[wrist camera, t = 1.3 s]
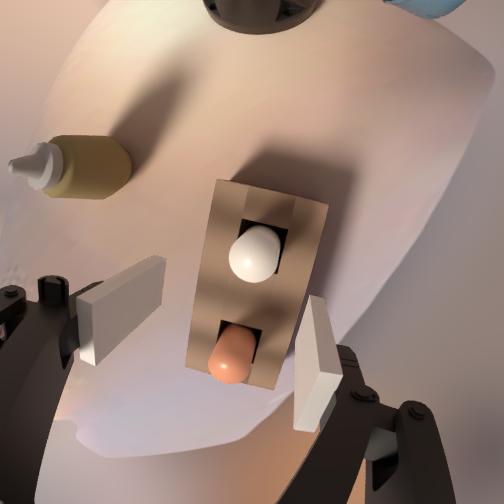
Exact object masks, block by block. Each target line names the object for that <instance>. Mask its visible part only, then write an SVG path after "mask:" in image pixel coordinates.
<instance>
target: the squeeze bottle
mask: <svg viewBox="0 0 504 504" xmlns="http://www.w3.org/2000/svg"><path fill="white" fill-rule="evenodd" d="M8 172H9V173H11V174H15V175H18V176H22V177H26V178H27V181H28V183H29V184H30V186H31V187H32V188H33V189H35V190H43V191H44V193H45V194H47V195H48V196H50V197H52V198H75V199H105V198H107V197H109V196H111V195H112V194H114V193H115V192H117V191H118V190H119V189H121V188H122V187H123V186H124V185H125V184H126V183H127V181H128V180H129V178H130V175H131V172H132V161H131V158H130V155H129V154H128V153H127V152H126V150H125V149H124V148H123V147H122V146H121V145H120V144H119V143H118V142H117V141H116V140H115V139H112V138H110V137H107V136H87V135H61V136H57V137H54V138H53V139H51V140H50V141H49V142H48V143H44V142H43V143H39V144H37V145H36V146H35V147H34V148H33V149H32V150H31V152H30V154H29V155H28V156H24V157H21V158H17V159H14V160H11V161H10V162H9V164H8Z"/></svg>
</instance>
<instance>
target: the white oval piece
mask: <svg viewBox="0 0 504 504" xmlns="http://www.w3.org/2000/svg"><path fill="white" fill-rule="evenodd" d="M280 248H281V241H280V238H279V236H278V234H277V233H276V232H275V230H273V229H272V228H270V227H268V226H265V225H256V226H253V227H251V228H249V229H248V230H247V231H246V232H245V233H244V234H243V235H242V236H241V237H240V238H238V239H237V240H236V241H235V242H234V244H233V245H232V247H231V249H230V252H229V263H230V266H231V269H232V270H233V272H234V273H235V274H236V275H237V276H238V277H239V278H240V279H242V280H244V281H247V282H253V283H256V282H261V281H264V280H266V279H268V278H269V277H270V276H271V275H272V274H273V273H274V272H275V270H276V268H277V264H278V259H279V254H280Z"/></svg>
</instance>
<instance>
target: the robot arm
mask: <svg viewBox="0 0 504 504" xmlns="http://www.w3.org/2000/svg"><path fill="white" fill-rule="evenodd" d="M382 1H383V2H385V3H387V4H392V5H395V6H398V7H400V8H402V9H404V10H406V11H408V12H410V13H412V14H414V15H416V16H419V17H421V18H425V19H435V18H439V17H441V16H445V15H447V14H449V13H450V12H452V11H453V10H455V9H456V8H457V7H459V6H460V5H461V4H462V3H463V2H465V0H382ZM203 3H204V6H205V8H206V9H207V11H208V13H209V15H210V16H211V18H212V19H213V20H214V21H215V22H216V23H218V24H219V25H221V26H222V27H224V28H226V29H229V30H231V31H235V32H239V33H244V34H255V35H260V34H271V33H277V32H281V31H285V30H288V29H290V28H293V27H295V26H297V25H299V24H300V23H302V22H303V21H305V20H306V19H307V18H308V17H309V16H310V15H311V14H312V12H313V11H314V9H315V7H316V4H317V0H203ZM166 259H167V258H163V257H159V256H156V255H153V256H151V257H149V258H147V259H145V260H143V261H142V262H140V263H138V264H136V265H134V266H132V267H130V268H128V269H126V270H125V271H123V272H121V273H119V274H117V275H115V276H113V277H112V278H110V279H108V280H106V281H99V282H95V283H92V284H90V285H88V286H86V288H83V289H81V290H79V291H77V292H75V293H73V294H72V295H70V296H69V282H68V281H67V279H65V278H64V277H60V276H54V275H51V276H44V277H41V278H39V279H38V293H39V300H38V302H37V303H36V302H32V301H28V300H26V291H25V290H24V289H23V288H22V287H19V286H16V285H14V286H13V285H10V286H6V287H3V288H1V289H0V325H3V330H4V334H5V336H4V337H3V338H0V504H35V503H34V497H35V491H36V486H37V481H38V476H39V471H40V467H41V463H42V459H43V455H44V450H45V447H46V443H47V439H48V436H49V432H50V429H51V425H52V422H53V419H54V416H55V412H56V409H57V406H58V403H59V400H60V397H61V394H62V392H63V389H64V386H65V383H66V380H67V378H68V375H69V372H70V370H71V367H72V365H73V362H74V353H73V352H74V351H75V350H76V349H77V348H79V350H80V359H82V360H84V361H86V362H88V363H90V364H92V365H94V366H96V365H97V364H98V363H99V362H101V361H102V360H103V359H104V358H105V357H106V356H107V355H108V354H109V353H110V352H111V351H112V350H113V349H114V348H115V347H116V346H117V345H118V344H119V343H120V342H122V341H123V340H124V339H125V338H126V337H127V336H128V335H129V334H130V333H131V332H132V331H133V330H134V329H135V328H136V327H137V326H139V325H140V324H141V323H142V322H143V321H144V320H145V319H146V318H147V317H148V316H149V315H150V314H151V313H152V312H154V311H155V310H156V309H157V308H158V307H159V306H160V305H161V300H162V291H163V282H164V274H165V266H166ZM359 367H360V366H359V363H358V360H357V358H356V354H355V353H354V352H353V351H352V350H351V349H350V348H349V347H347V346H342V345H337V344H336V343H335V339H334V335H333V331H332V327H331V323H330V319H329V315H328V311H327V308H326V304H325V300H324V298H321V297H317V296H312V295H309V299H308V302H307V305H306V309H305V312H304V315H303V318H302V321H301V324H300V328H299V331H298V334H297V337H296V340H295V397H294V400H295V401H294V430H300V431H307V432H315V430H316V428H317V426H318V424H319V423H320V433H319V435H318V436H317V438H316V440H315V441H314V443H313V445H312V446H311V448H310V450H309V452H308V454H307V456H306V457H305V459H304V460H303V462H302V464H301V465H300V467H299V468H298V470H297V472H296V473H295V475H294V476H293V478H292V479H291V481H290V483H289V484H288V486H287V487H286V489H285V490H284V492H283V493H282V495H281V496H280V497H279V499H278V500H277V502H276V503H275V504H346V503H347V501H348V498H349V496H350V493H351V491H352V488H353V486H354V483H355V481H356V478H357V475H358V472H359V470H360V467H361V464H362V461H363V458H365V459H366V484H365V504H456V500H455V495H454V490H453V485H452V481H451V476H450V472H449V468H448V464H447V460H446V456H445V453H444V449H443V446H442V442H441V439H440V435H439V432H438V428H437V425H436V422H435V419H434V416H433V414H432V412H431V410H430V409H429V408H428V407H427V406H426V405H425V404H423V403H421V402H417V401H409V400H408V401H405V402H404V403H403V404H402V405H401V406H400V408H399V409H396V408H392V407H389V406H386V405H383V404H381V403H379V396H378V394H377V392H376V391H374V390H373V389H372V388H370V387H368V386H366V385H365V382H364V379H363V377H362V373H361V370H360V368H359Z"/></svg>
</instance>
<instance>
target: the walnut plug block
mask: <svg viewBox="0 0 504 504" xmlns="http://www.w3.org/2000/svg"><path fill="white" fill-rule="evenodd" d="M328 207H329V205H328V204H326V203H323V202H320V201H316V200H312V199H308V198H304V197H300V196H296V195H292V194H288V193H284V192H280V191H275V190H271V189H267V188H262V187H258V186H253V185H249V184H244V183H239V182H234V181H229V180H220V179H217V180H216V185H215V190H214V195H213V200H212V205H211V210H210V215H209V220H208V225H207V230H206V236H205V241H204V247H203V252H202V258H201V264H200V269H199V275H198V281H197V287H196V294H195V300H194V306H193V313H192V320H191V326H190V333H189V340H188V348H187V355H186V363H185V367H188V368H191V369H195V370H198V371H201V372H204V373H208V374H211V373H210V371H209V368H208V361H209V358H210V356H211V354H212V352H213V350H214V348H215V346H216V344H217V342H218V340H219V338H220V336H221V334H222V332H223V330H224V328H225V327H226V324H227V321H229V322H233V323H236V324H240V325H244V326H248V327H252V328H256V329H260V330H261V334H260V338H259V339H258V338H257V341H256V346H255V350H254V354H253V358H252V362H251V366H250V370H249V374H248V376H247V377H246V379H244V380H243V381H241V382H240V383H244V384H248V385H252V386H257V387H261V388H265V389H270V390H274V388H275V385H276V382H277V379H278V377H279V374H280V371H281V368H282V365H283V362H284V359H285V356H286V353H287V350H288V347H289V344H290V341H291V338H292V335H293V332H294V329H295V325H296V322H297V319H298V316H299V313H300V309H301V306H302V303H303V299H304V296H305V293H306V289H307V286H308V282H309V279H310V275H311V272H312V268H313V265H314V261H315V257H316V254H317V250H318V246H319V243H320V239H321V235H322V231H323V227H324V223H325V219H326V215H327V211H328ZM249 220H251V221H256V222H260V223H264V224H268V225H272V226H277V227H281V228H285V229H287V233H286V237H285V241H284V245H283V249H282V253H281V257H280V260H278V264H277V268H276V270H275V272H274V273H273V274H272V275H271V276H270V277H269V278H268V279H266V280H264V281H261V282H256V283H253V282H247V281H244V280H242V279H240V278H239V277H238V276H237V275H236V274H235V273H234V272H233V270H232V269H231V266H230V263H229V252H230V249H231V247H232V245H233V244H234V242H235V241H236V240H237V239H238V238H240V237H241V236H242V235H243V234H244V233H245V232H246V230H247V226H248V221H249ZM211 375H212V374H211Z"/></svg>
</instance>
